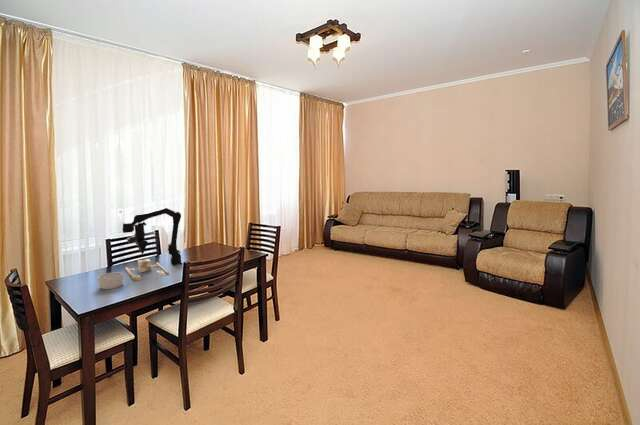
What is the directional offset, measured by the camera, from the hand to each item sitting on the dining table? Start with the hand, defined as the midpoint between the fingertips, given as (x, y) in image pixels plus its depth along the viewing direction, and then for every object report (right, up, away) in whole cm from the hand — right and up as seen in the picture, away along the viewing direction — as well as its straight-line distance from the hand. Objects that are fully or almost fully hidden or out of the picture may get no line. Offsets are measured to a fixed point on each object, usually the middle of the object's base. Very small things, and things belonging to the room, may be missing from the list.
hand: (141, 252), depth 241 cm
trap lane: (+9, -12, -9) cm, 18 cm away
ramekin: (+2, -16, -37) cm, 41 cm away
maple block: (+5, -12, -5) cm, 14 cm away
